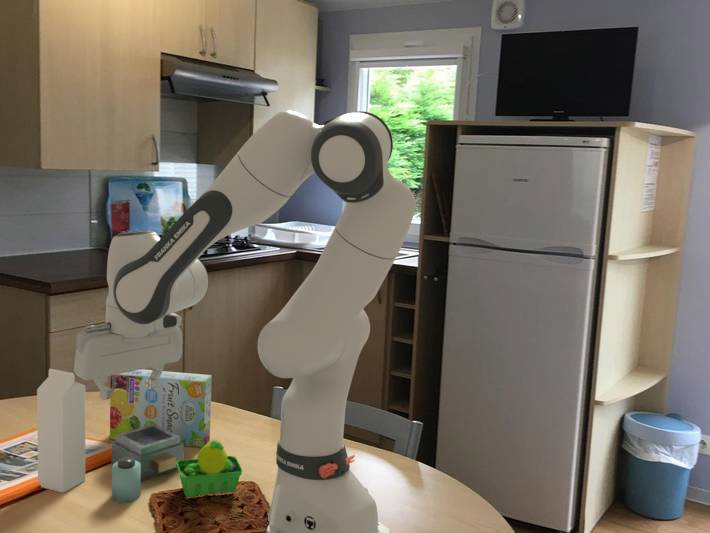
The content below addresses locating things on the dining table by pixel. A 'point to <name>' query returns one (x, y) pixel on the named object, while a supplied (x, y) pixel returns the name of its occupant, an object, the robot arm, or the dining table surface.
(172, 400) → the snack box
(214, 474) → the fruit basket
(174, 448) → the gray drawer
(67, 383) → the milk
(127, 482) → the capped canister
